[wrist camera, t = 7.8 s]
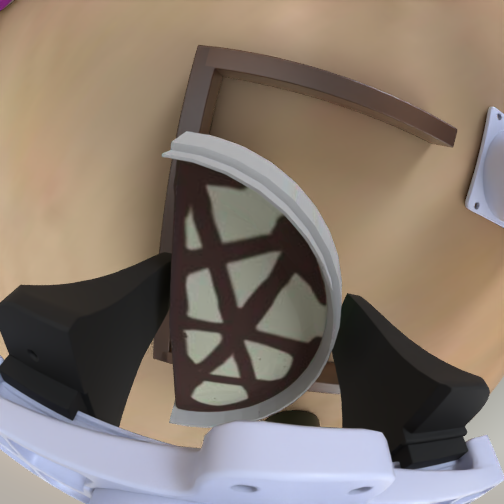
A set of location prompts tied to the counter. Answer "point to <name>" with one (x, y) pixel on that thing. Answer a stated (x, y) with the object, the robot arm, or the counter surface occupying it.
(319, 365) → the food container
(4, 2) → the beverage can
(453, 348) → the counter surface
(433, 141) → the brown frame
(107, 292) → the robot arm
